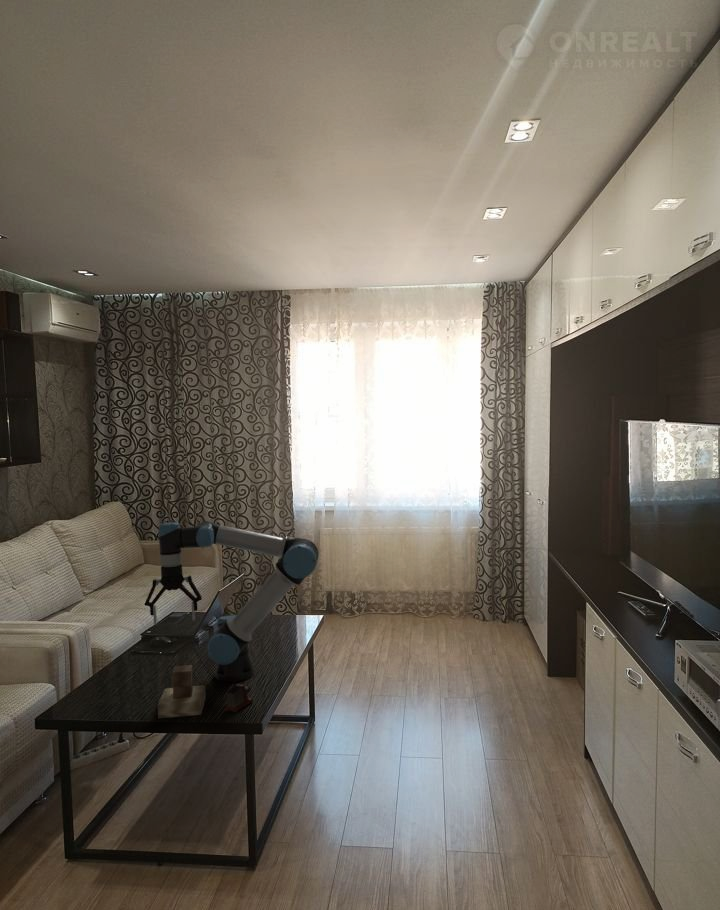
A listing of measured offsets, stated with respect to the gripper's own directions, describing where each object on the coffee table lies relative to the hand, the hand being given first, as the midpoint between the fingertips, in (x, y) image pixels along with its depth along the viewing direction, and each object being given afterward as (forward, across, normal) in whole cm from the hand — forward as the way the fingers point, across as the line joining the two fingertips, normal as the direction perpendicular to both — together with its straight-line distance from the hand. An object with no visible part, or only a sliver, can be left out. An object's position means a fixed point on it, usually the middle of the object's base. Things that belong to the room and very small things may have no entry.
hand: (174, 621), depth 237 cm
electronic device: (+26, -22, +21) cm, 40 cm away
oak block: (+26, -2, +16) cm, 31 cm away
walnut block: (+21, -3, +16) cm, 27 cm away
